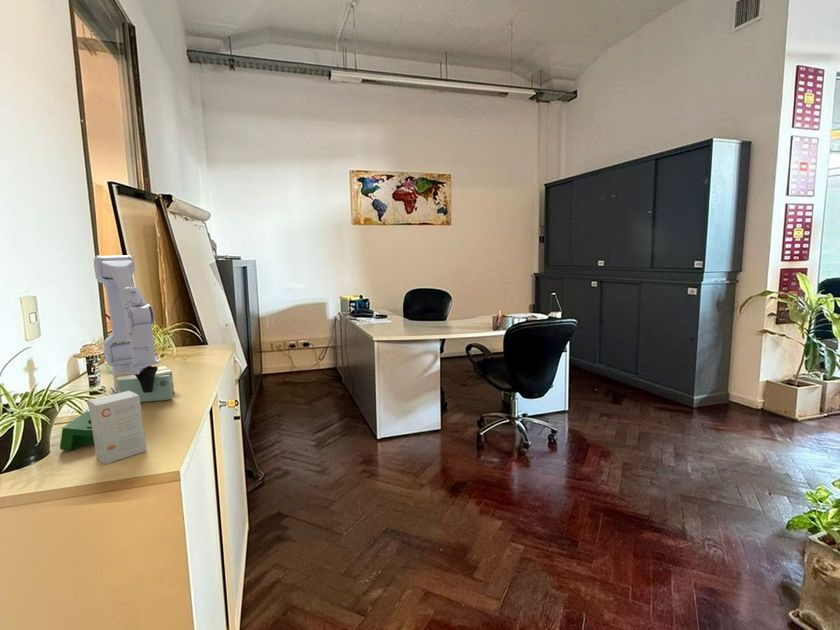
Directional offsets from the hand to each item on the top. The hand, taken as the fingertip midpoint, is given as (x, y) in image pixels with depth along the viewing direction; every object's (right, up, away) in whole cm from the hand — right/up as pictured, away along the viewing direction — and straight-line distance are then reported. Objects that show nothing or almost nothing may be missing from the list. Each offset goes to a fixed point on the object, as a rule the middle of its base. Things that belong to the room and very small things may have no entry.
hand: (148, 392), depth 131 cm
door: (-2, -3, +2) cm, 4 cm away
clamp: (+2, -8, -26) cm, 27 cm away
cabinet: (-7, -2, +10) cm, 12 cm away
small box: (+15, -8, -34) cm, 38 cm away
